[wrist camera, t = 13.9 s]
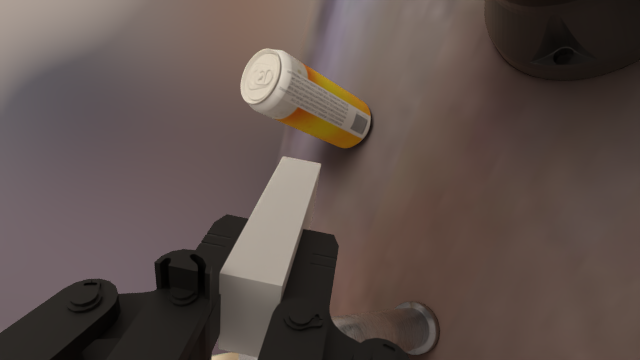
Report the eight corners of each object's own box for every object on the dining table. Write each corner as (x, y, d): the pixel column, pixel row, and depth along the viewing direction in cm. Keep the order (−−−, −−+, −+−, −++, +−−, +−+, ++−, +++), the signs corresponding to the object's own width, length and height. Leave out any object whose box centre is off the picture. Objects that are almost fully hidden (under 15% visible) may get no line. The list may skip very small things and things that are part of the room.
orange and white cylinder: (340, 100, 48) (247, 46, 37) (380, 102, 44) (290, 41, 33) (327, 146, 48) (231, 106, 37) (366, 152, 44) (271, 109, 33)
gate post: (400, 294, 38) (233, 305, 22) (444, 312, 35) (286, 338, 19) (389, 340, 38) (213, 382, 22) (433, 362, 35) (263, 429, 19)
